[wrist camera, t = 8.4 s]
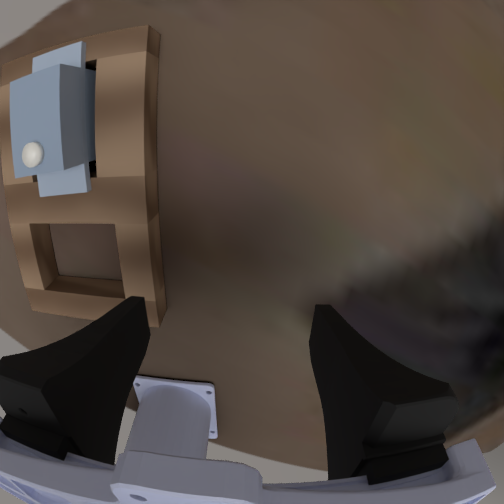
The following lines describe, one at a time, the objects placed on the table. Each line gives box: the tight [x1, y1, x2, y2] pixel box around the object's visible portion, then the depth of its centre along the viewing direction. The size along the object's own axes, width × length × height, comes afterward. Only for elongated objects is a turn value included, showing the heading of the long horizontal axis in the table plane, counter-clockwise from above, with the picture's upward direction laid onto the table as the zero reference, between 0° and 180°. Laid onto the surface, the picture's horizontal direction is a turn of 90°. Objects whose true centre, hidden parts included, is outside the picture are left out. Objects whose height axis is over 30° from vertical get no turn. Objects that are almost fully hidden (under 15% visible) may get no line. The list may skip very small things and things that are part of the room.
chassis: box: [0, 25, 167, 327], centre depth 19 cm, size 20×12×2 cm, turn 178°
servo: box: [10, 41, 96, 197], centre depth 15 cm, size 4×10×6 cm, turn 0°
